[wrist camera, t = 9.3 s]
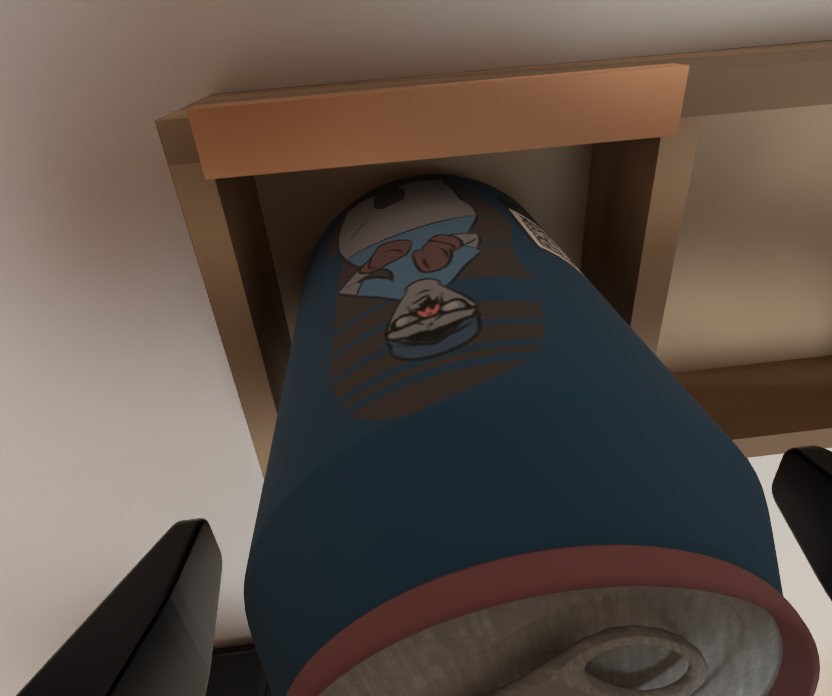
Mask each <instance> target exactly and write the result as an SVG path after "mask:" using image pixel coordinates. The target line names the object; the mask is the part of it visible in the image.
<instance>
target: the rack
mask: <svg viewBox="0 0 832 696" xmlns="http://www.w3.org/2000/svg"><path fill="white" fill-rule="evenodd" d="M155 123H156V127H157V130H158V133H159V136H160V140H161V143H162V146H163V150H164V153H165V156H166V159H167V163H168V166H169V169H170V172H171V176H172V179H173V182H174V186H175V189H176V192H177V195H178V199H179V202H180V205H181V208H182V212H183V215H184V218H185V222H186V225H187V228H188V231H189V235H190V238H191V241H192V244H193V248H194V251H195V254H196V258H197V261H198V264H199V267H200V271H201V274H202V277H203V280H204V284H205V287H206V290H207V294H208V297H209V300H210V303H211V307H212V310H213V313H214V316H215V320H216V323H217V326H218V330H219V333H220V336H221V339H222V343H223V346H224V349H225V352H226V356H227V359H228V362H229V366H230V369H231V372H232V375H233V379H234V382H235V385H236V388H237V392H238V395H239V398H240V401H241V405H242V408H243V411H244V415H245V418H246V421H247V424H248V428H249V431H250V434H251V437H252V441H253V444H254V447H255V451H256V454H257V457H258V460H259V464H260V467H261V470H262V473H263V477H264V479H265V474H266V469H267V464H268V459H269V454H270V449H271V444H272V439H273V434H274V429H275V424H276V419H277V414H278V410H279V405H280V400H281V395H282V390H283V385H284V380H285V375H286V370H287V365H288V360H289V355H290V350H291V345H292V340H293V335H294V330H295V325H296V320H297V315H298V310H299V305H300V300H301V295H302V290H303V286H304V281H305V276H306V271H307V267H308V264H309V261H310V258H311V255H312V253H313V251H314V249H315V247H316V245H317V243H318V241H319V239H320V238H321V236H322V234H323V233H324V232H325V230H326V229H327V227H328V226H329V225H330V224H331V222H332V221H333V220H334V219H335V218H336V217H337V216H338V215H339V214H340V213H341V212H342V211H343V210H344V209H345V208H346V207H347V206H349V205H350V204H351V203H352V202H354V201H355V200H357V199H358V198H359V197H361V196H363V195H364V194H366V193H367V192H369V191H371V190H373V189H375V188H377V187H379V186H382V185H384V184H387V183H389V182H392V181H395V180H398V179H402V178H407V177H411V176H418V175H428V174H446V175H456V176H461V177H466V178H470V179H474V180H477V181H480V182H483V183H485V184H488V185H490V186H492V187H494V188H496V189H498V190H500V191H502V192H503V193H505V194H507V195H508V196H510V197H511V198H512V199H514V200H515V201H516V202H517V203H519V204H520V205H521V206H522V207H523V208H524V209H525V210H526V211H527V212H528V213H529V214H530V215H531V216H532V218H533V219H534V220H535V221H536V222H537V223H538V224H539V225H540V226H541V228H542V229H543V230H544V231H545V232H546V233H547V234H548V235H549V237H550V238H551V239H552V240H553V241H554V242H555V243H556V244H557V245H558V247H559V248H560V249H561V250H562V251H563V252H564V253H565V254H566V256H567V257H568V258H569V259H570V260H571V261H572V262H573V263H574V264H575V266H576V267H577V268H578V269H579V270H580V271H581V272H582V273H583V275H584V276H585V277H586V278H587V279H588V280H589V281H590V282H591V283H592V285H593V286H594V287H595V288H596V289H597V290H598V291H599V292H600V294H601V295H602V296H603V297H604V298H605V299H606V300H607V301H608V302H609V304H610V305H611V306H612V307H613V308H614V309H615V310H616V311H617V313H618V314H619V315H620V316H621V317H622V318H623V319H624V320H625V321H626V323H627V324H628V325H629V326H630V327H631V328H632V329H633V330H634V332H635V333H636V334H637V335H638V336H639V337H640V338H641V339H642V340H643V342H644V343H645V344H646V345H647V346H648V347H649V348H650V349H651V351H652V352H653V353H654V354H655V355H656V356H657V357H658V358H659V359H660V361H661V362H662V363H663V364H664V365H665V366H666V367H667V368H668V370H669V371H670V372H671V373H672V374H673V375H674V376H675V377H676V378H677V380H678V381H679V382H680V383H681V384H682V385H683V386H684V387H685V389H686V390H687V391H688V392H689V393H690V394H691V395H692V396H693V397H694V399H695V400H696V401H697V402H698V403H699V404H700V405H701V406H702V408H703V409H704V410H705V411H706V412H707V413H708V414H709V415H710V416H711V418H712V419H713V420H714V421H715V422H716V423H717V424H718V425H719V427H720V428H721V429H722V430H723V431H724V432H725V433H726V434H727V435H728V437H729V438H730V439H731V440H732V441H733V442H734V443H735V444H736V446H737V447H738V448H739V449H740V450H741V452H742V453H743V454H744V455H745V457H746V458H748V457H756V456H764V455H773V454H781V453H785V452H786V451H787V450H788V449H790V448H794V447H802V446H811V445H813V446H819V447H822V448H831V447H832V40H827V41H815V42H804V43H792V44H781V45H770V46H758V47H747V48H735V49H724V50H712V51H701V52H689V53H678V54H667V55H655V56H644V57H632V58H621V59H609V60H598V61H587V62H575V63H564V64H552V65H541V66H529V67H518V68H506V69H495V70H484V71H472V72H461V73H449V74H438V75H426V76H415V77H404V78H392V79H381V80H369V81H358V82H346V83H335V84H323V85H312V86H301V87H289V88H278V89H266V90H255V91H243V92H232V93H221V94H212V95H209V96H207V97H205V98H203V99H201V100H199V101H197V102H194V103H192V104H190V105H188V106H186V107H184V108H181V109H179V110H177V111H175V112H173V113H171V114H168V115H166V116H164V117H162V118H160V119H158V120H156V121H155Z"/></svg>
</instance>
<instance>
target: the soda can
mask: <svg viewBox="0 0 832 696" xmlns="http://www.w3.org/2000/svg"><path fill="white" fill-rule="evenodd" d="M244 602H245V611H246V616H247V621H248V625H249V629H250V632H251V635H252V638H253V641H254V644H255V647H256V650H257V652H258V655H259V658H260V661H261V664H262V666H263V669H264V672H265V675H266V678H267V680H268V683H269V686H270V689H271V691H272V694H273V696H814V693H815V691H816V688H817V684H818V680H819V672H820V663H819V655H818V651H817V647H816V644H815V641H814V639H813V637H812V635H811V633H810V631H809V629H808V627H807V626H806V624H805V623H804V622H803V620H802V619H801V617H800V616H799V614H798V613H797V611H796V610H795V609H794V608H793V607H792V605H791V604H790V603H789V602H788V601H787V600H786V599H785V598H784V597H783V593H782V587H781V581H780V575H779V569H778V563H777V556H776V550H775V545H774V539H773V533H772V527H771V522H770V516H769V511H768V507H767V503H766V499H765V496H764V492H763V489H762V486H761V484H760V481H759V479H758V477H757V474H756V472H755V471H754V469H753V467H752V466H751V464H750V462H749V461H748V459H747V458H746V457H745V455H744V454H743V453H742V452H741V450H740V449H739V448H738V447H737V446H736V444H735V443H734V442H733V441H732V440H731V439H730V438H729V437H728V435H727V434H726V433H725V432H724V431H723V430H722V429H721V428H720V427H719V425H718V424H717V423H716V422H715V421H714V420H713V419H712V418H711V416H710V415H709V414H708V413H707V412H706V411H705V410H704V409H703V408H702V406H701V405H700V404H699V403H698V402H697V401H696V400H695V399H694V397H693V396H692V395H691V394H690V393H689V392H688V391H687V390H686V389H685V387H684V386H683V385H682V384H681V383H680V382H679V381H678V380H677V378H676V377H675V376H674V375H673V374H672V373H671V372H670V371H669V370H668V368H667V367H666V366H665V365H664V364H663V363H662V362H661V361H660V359H659V358H658V357H657V356H656V355H655V354H654V353H653V352H652V351H651V349H650V348H649V347H648V346H647V345H646V344H645V343H644V342H643V340H642V339H641V338H640V337H639V336H638V335H637V334H636V333H635V332H634V330H633V329H632V328H631V327H630V326H629V325H628V324H627V323H626V321H625V320H624V319H623V318H622V317H621V316H620V315H619V314H618V313H617V311H616V310H615V309H614V308H613V307H612V306H611V305H610V304H609V302H608V301H607V300H606V299H605V298H604V297H603V296H602V295H601V294H600V292H599V291H598V290H597V289H596V288H595V287H594V286H593V285H592V283H591V282H590V281H589V280H588V279H587V278H586V277H585V276H584V275H583V273H582V272H581V271H580V270H579V269H578V268H577V267H576V266H575V264H574V263H573V262H572V261H571V260H570V259H569V258H568V257H567V256H566V254H565V253H564V252H563V251H562V250H561V249H560V248H559V247H558V245H557V244H556V243H555V242H554V241H553V240H552V239H551V238H550V237H549V235H548V234H547V233H546V232H545V231H544V230H543V229H542V228H541V226H540V225H539V224H538V223H537V222H536V221H535V220H534V219H533V218H532V216H531V215H530V214H529V213H528V212H527V211H526V210H525V209H524V208H523V207H522V206H521V205H520V204H519V203H517V202H516V201H515V200H514V199H512V198H511V197H510V196H508V195H507V194H505V193H503V192H502V191H500V190H498V189H496V188H494V187H492V186H490V185H488V184H485V183H483V182H480V181H477V180H474V179H470V178H466V177H461V176H456V175H446V174H428V175H418V176H411V177H407V178H402V179H398V180H395V181H392V182H389V183H387V184H384V185H382V186H379V187H377V188H375V189H373V190H371V191H369V192H367V193H366V194H364V195H363V196H361V197H359V198H358V199H357V200H355V201H354V202H352V203H351V204H350V205H349V206H347V207H346V208H345V209H344V210H343V211H342V212H341V213H340V214H339V215H338V216H337V217H336V218H335V219H334V220H333V221H332V222H331V224H330V225H329V226H328V227H327V229H326V230H325V232H324V233H323V234H322V236H321V238H320V239H319V241H318V243H317V245H316V247H315V249H314V251H313V253H312V255H311V258H310V261H309V264H308V267H307V271H306V276H305V281H304V286H303V290H302V295H301V300H300V305H299V310H298V315H297V320H296V325H295V330H294V335H293V340H292V345H291V350H290V355H289V360H288V365H287V370H286V375H285V380H284V385H283V390H282V395H281V400H280V405H279V410H278V414H277V419H276V424H275V429H274V434H273V439H272V444H271V449H270V454H269V459H268V464H267V469H266V474H265V479H264V484H263V489H262V494H261V499H260V504H259V509H258V514H257V519H256V524H255V529H254V533H253V538H252V543H251V548H250V553H249V558H248V563H247V569H246V574H245V580H244Z"/></svg>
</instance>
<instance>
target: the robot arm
mask: <svg viewBox="0 0 832 696" xmlns="http://www.w3.org/2000/svg"><path fill="white" fill-rule="evenodd" d="M772 494H773V497H774V500H775V502H776V504H777V506H778V508H779V509H780V511H781V513H782V515H783V517H784V518H785V520H786V522H787V524H788V526H789V528H790V529H791V531H792V533H793V535H794V537H795V538H796V540H797V542H798V544H799V546H800V547H801V549H802V551H803V553H804V555H805V556H806V558H807V560H808V562H809V564H810V566H811V567H812V569H813V571H814V573H815V575H816V576H817V578H818V580H819V581H820V583H821V585H822V587H823V588H824V590H825V592H826V593H827V595H828V596H829V598H830V599H831V601H832V452H831V451H829V450H827V449H824V448H822V447H819V446H813V445H811V446H802V447H794V448H790V449H788V450H787V451H786V452H785V453H784V455H783V458H782V460H781V463H780V465H779V468H778V470H777V473H776V475H775V478H774V480H773V483H772ZM221 573H222V556H221V552H220V549H219V547H218V544H217V542H216V539H215V537H214V535H213V532H212V530H211V527H210V525H209V523H208V521H207V520H205V519H202V518H199V519H190V520H182V521H179V522H177V523H175V524H174V525H173V526H172V527H171V528H170V529H169V530H168V531H167V532H166V533H165V534H164V535H163V536H162V538H161V539H160V540H159V541H158V542H157V543H156V544H155V545H154V546H153V547H152V548H151V550H150V551H149V552H148V553H147V554H146V555H145V556H144V557H143V558H142V559H141V560H140V561H139V563H138V564H137V565H136V566H135V567H134V568H133V569H132V570H131V571H130V572H129V573H128V575H127V576H126V577H125V578H124V579H123V580H122V581H121V582H120V583H119V584H118V585H117V586H116V588H115V589H114V590H113V591H112V592H111V593H110V594H109V595H108V596H107V597H106V598H105V600H104V601H103V602H102V603H101V604H100V605H99V606H98V607H97V608H96V609H95V610H94V611H93V613H92V614H91V615H90V616H89V617H88V618H87V619H86V620H85V621H84V622H83V623H82V625H81V626H80V627H79V628H78V629H77V630H76V631H75V632H74V633H73V634H72V635H71V636H70V638H69V639H68V640H67V641H66V642H65V643H64V644H63V645H62V646H61V647H60V648H59V650H58V651H57V652H56V653H55V654H54V655H53V656H52V657H51V658H50V659H49V660H48V661H47V663H46V664H45V665H44V666H43V667H42V668H41V669H40V670H39V671H38V672H37V673H36V674H35V676H34V677H33V678H32V679H31V680H30V681H29V682H28V683H27V684H26V685H25V686H24V688H23V689H22V690H21V691H20V692H19V693H18V694H17V695H16V696H273V694H272V691H271V689H270V686H269V683H268V680H267V678H266V675H265V672H264V669H263V666H262V664H261V661H260V658H259V655H258V652H257V650H256V647H255V645H252V646H244V647H236V648H228V649H221V650H213V643H214V634H215V626H216V617H217V608H218V599H219V591H220V582H221Z"/></svg>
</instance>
